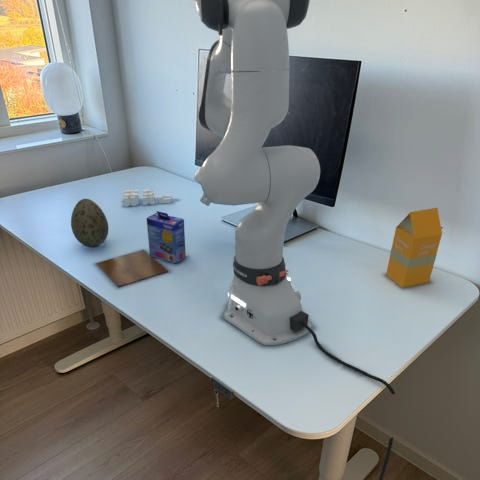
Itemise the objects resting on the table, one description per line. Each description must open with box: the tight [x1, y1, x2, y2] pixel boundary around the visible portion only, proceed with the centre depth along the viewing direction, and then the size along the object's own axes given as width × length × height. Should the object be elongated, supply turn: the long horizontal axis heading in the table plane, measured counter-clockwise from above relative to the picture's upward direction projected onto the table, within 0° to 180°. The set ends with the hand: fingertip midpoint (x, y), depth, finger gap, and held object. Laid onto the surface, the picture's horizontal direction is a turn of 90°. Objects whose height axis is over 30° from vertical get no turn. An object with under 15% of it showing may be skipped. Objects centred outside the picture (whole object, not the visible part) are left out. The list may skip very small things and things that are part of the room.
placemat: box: [96, 249, 169, 288], centre depth 133 cm, size 15×16×1 cm
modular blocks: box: [122, 188, 173, 208], centre depth 175 cm, size 20×7×4 cm, turn 101°
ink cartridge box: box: [146, 210, 187, 264], centre depth 134 cm, size 10×6×14 cm, turn 63°
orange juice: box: [385, 207, 443, 289], centre depth 122 cm, size 8×9×20 cm
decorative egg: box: [70, 198, 109, 248], centre depth 141 cm, size 11×11×15 cm
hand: (203, 203), depth 137 cm, fingers closed
